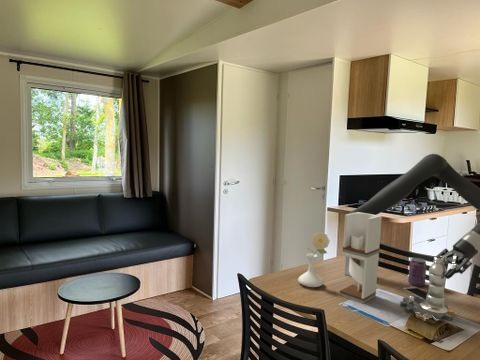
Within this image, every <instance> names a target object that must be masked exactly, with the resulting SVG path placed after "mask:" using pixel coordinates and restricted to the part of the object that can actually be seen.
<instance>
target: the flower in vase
mask: <svg viewBox="0 0 480 360" xmlns="http://www.w3.org/2000/svg"><path fill="white" fill-rule="evenodd" d="M330 241H331V240H330V239H329V236H328V235H327V234H326V233H324V232H321V231H319V232H316V233H314V234H312V237H311V244H312V247H314V248H315V249H316V250H315V251H314V250H313V249H310V248H307V250H309V251H311V252H312V253H307V254H306V257H307V259H308V270H307V271H306V272H304V273H303V274H301V275H300V276H299V277H298V279H297V281H298V284H300V285H303V286H305V287H309V288H317V287H321V286H323V285H324V280H323V279H322V277H321V276H319V275H318V274H317V273H316V272H315V262H316V259H317V258H318V254H316V253H317V252H318V253H319V254H321V255H325V254H328V252H327V250H325V249H327V248H328V246H329V243H330Z"/></svg>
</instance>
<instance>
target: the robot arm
mask: <svg viewBox="0 0 480 360" xmlns="http://www.w3.org/2000/svg"><path fill="white" fill-rule="evenodd" d="M431 177H435V178H437V179H438V180H440V181H442V182H444V183H445V184H446V185H448V186H449V187H450V188H452V190H454V191H455V192H456V193H457V195H458V196H460V197H461V199H464V201H466V202H467V203H468V204H469V205H471V206H472V207H473V208H475V209H476V210H478V211H480V187H479V186H478V185H476V184H474V183H473V182H472V181H470V180H469V179H467V178H466V177H464V176H462V175H461V174H460V173H459V172H458V171H457V170H455V169H454V168H453V167H452V165H451V164H450V163H449V162H448V161H447V160H446V158H444V157H443V156H441V155H440V154H437V153H430V154H428V155H425V156H424V157H423V158H422V159H420V160H419V162H417V163H416V164H415V165H413V167H411V168H410V169H409V170H408V171H406V172H405V173H403V174H402V175H400V176H399V177H398V178H396V179H395V180H393V181H391V182H390V183H388V184H387V185H386V186H385V187H383V188H382V189H381V190H379V191H377V193H376V194H375V195H374V196H372V197H371V198H370V199H369V200H367V202H364V204H362V205H360V206H359V207H357V208H355V209H353V210H351V211H350V212H349V213H348V214H351V213H356V212H361V213H367V214H373V215H379V214H380V213H383V212H385V211H387V210H389V209H391V208H392V207H394V206H396V205H397V204H399V203H400V202H402V201H403V200H405V199H406V198H407V197H408V196H409V195H410V194H411V193H412V192H413V191H414V190H415V188H417V186H418V185H420V184H421V183H422V182H424V181H425V180H428V179H429V178H431ZM479 253H480V222H479V223H477V224H475V226H474V227H473V228H471V230H469V231H468V232H466V233H465V234H464V235H463V236H462V237H461V238H459V239H458V241H456V242H455V243H454V244H453V245H452V249H451V250H449V249H447V248H444V249H443V250H442V251H441V252H439V253H438V254H437V255H436V256H439V257H443V258H445V260H444V262H445V263H444V265H445V264H446V265H448V264H450V265H452V266H451V268H449V269H447V272H446V273H445V274H444V276H445V278H446V280H450V279H451V278H452V277H454V275H456V274H458V273H459V274H460V275H462V274H463V273H465V272H466V271H467V270H468V269H469V268H470V267H471V266H472V264H473V262H472V261H471V260H472V259H473V258H474V257H475V256H476V255H478V254H479ZM344 262H345V264H344V275H345V276H348V277H352V276H351V275H350V273H349V263H350V257H349V256H345V261H344Z"/></svg>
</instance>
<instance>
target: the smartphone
mask: <svg viewBox="0 0 480 360" xmlns="http://www.w3.org/2000/svg"><path fill="white" fill-rule="evenodd" d="M402 290H404V291H406V292H408V293H410V294H412V295H414V296H416V297H419V298H421V299H426V297H427V294H428V291H427V292H426V291H425V290H422V289H421V288H418V286H410V287H403V288H402Z"/></svg>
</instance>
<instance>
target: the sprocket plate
mask: <svg viewBox="0 0 480 360" xmlns="http://www.w3.org/2000/svg"><path fill="white" fill-rule="evenodd" d="M399 306H400V307H402V308H404V312H406V313H407V314H414V313H415V312H420V313H428V314H431V315H433V316H434V317H435V318H436V319H439V320H441V321H442V320H446V321H448V322H450V321H452V320H453V317H454V316H455V311H454V309H453V310H452V309H449V306H448V305H447V304H446V303H445V304H444V307H443V308H441V309H436V308H432V307H430V306H428V305H427V303H426V299H421V298H419V297H417V296H416V295H414V296H413V295H409V297H407V296H404V297H402V300H400V302H399Z"/></svg>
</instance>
